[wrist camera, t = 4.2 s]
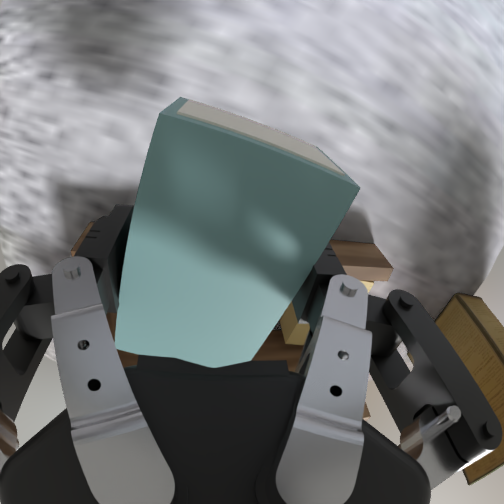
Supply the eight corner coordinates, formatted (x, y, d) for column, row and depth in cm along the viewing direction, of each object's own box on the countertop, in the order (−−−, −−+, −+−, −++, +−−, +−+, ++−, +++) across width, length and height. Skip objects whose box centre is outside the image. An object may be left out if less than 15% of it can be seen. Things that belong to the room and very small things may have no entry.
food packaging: (437, 353, 42) (494, 467, 22) (404, 355, 40) (464, 489, 19) (483, 297, 36) (561, 415, 15) (455, 291, 33) (546, 435, 13)
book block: (181, 95, 9) (159, 110, 6) (318, 145, 11) (361, 185, 8) (131, 283, 14) (114, 348, 10) (235, 308, 15) (241, 373, 12)
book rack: (90, 221, 22) (29, 325, 12) (374, 244, 27) (439, 334, 17) (110, 328, 29) (87, 424, 20) (332, 337, 34) (364, 422, 24)
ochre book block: (313, 250, 27) (324, 273, 24) (360, 260, 28) (374, 282, 26) (279, 319, 32) (285, 343, 29) (322, 323, 33) (331, 346, 30)
